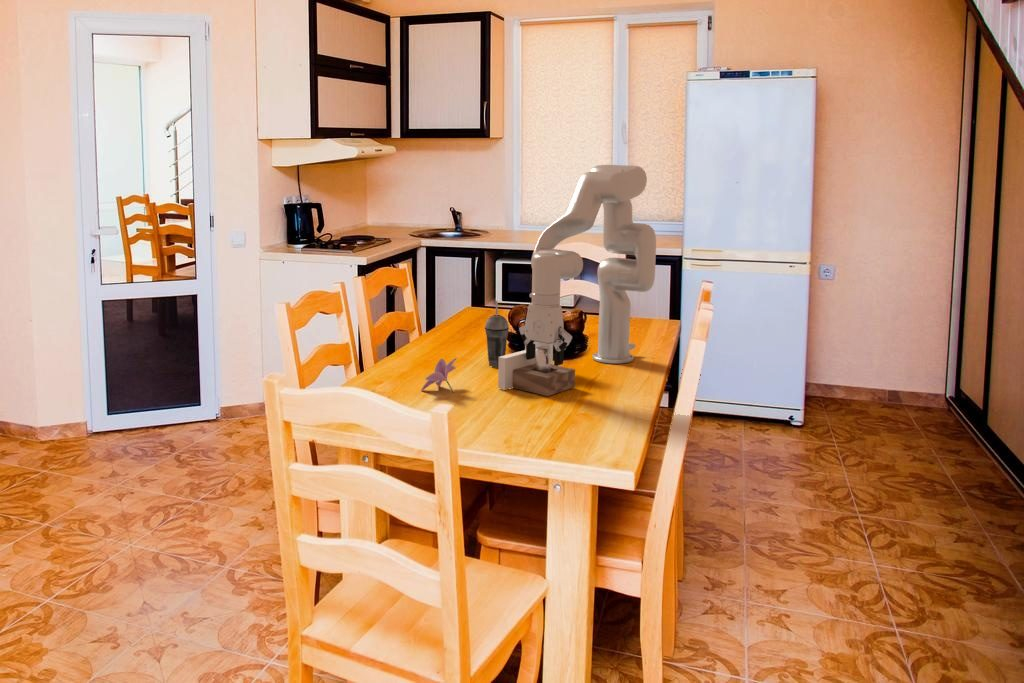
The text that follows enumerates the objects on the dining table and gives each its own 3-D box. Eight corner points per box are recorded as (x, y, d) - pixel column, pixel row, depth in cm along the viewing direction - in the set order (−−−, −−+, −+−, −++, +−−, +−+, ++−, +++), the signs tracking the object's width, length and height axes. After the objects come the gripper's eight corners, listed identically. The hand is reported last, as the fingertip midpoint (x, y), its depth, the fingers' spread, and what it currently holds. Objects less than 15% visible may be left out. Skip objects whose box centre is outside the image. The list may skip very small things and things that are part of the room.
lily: (462, 388, 247) (447, 357, 247) (476, 382, 237) (460, 349, 237) (425, 406, 242) (410, 374, 243) (437, 401, 232) (421, 367, 232)
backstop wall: (539, 376, 256) (540, 346, 254) (546, 378, 255) (546, 347, 253) (498, 389, 243) (498, 356, 241) (504, 390, 241) (505, 358, 239)
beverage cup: (509, 363, 271) (510, 298, 267) (507, 369, 264) (508, 302, 260) (486, 362, 272) (486, 297, 267) (482, 368, 265) (483, 301, 260)
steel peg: (542, 380, 247) (541, 345, 244) (554, 382, 244) (552, 347, 242) (533, 384, 244) (532, 348, 241) (545, 386, 241) (543, 350, 239)
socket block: (540, 379, 252) (540, 362, 251) (574, 387, 245) (575, 369, 244) (512, 387, 243) (513, 369, 242) (547, 396, 236) (548, 377, 235)
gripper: (512, 297, 241) (511, 359, 245) (563, 305, 230) (561, 369, 234) (529, 294, 247) (528, 354, 251) (580, 301, 236) (578, 364, 240)
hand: (544, 361), depth 242 cm, fingers open, 9 cm apart
